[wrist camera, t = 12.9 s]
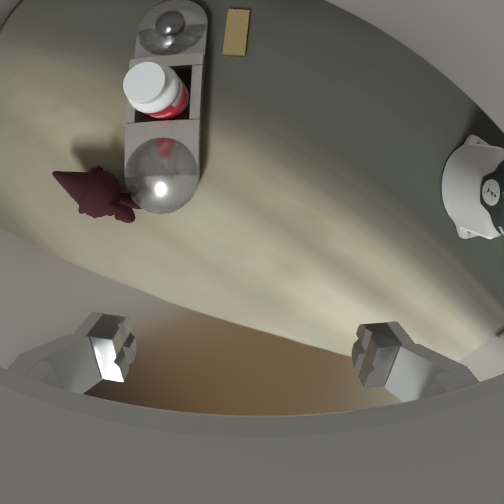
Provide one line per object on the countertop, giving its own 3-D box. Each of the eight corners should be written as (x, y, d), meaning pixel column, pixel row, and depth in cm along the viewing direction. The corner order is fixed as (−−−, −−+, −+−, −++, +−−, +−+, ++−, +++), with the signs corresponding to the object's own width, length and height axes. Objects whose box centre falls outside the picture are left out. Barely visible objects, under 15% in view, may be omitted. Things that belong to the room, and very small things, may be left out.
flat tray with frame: (145, 8, 30) (139, 0, 27) (210, 1, 30) (209, -8, 27) (133, 210, 40) (126, 214, 37) (201, 209, 40) (198, 213, 37)
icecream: (36, 204, 32) (123, 247, 36) (43, 157, 29) (138, 200, 33) (60, 185, 38) (139, 222, 42) (69, 143, 35) (155, 180, 39)
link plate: (228, 12, 32) (228, 8, 30) (249, 13, 32) (249, 10, 31) (223, 57, 34) (222, 54, 33) (244, 58, 34) (244, 55, 33)
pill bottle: (139, 112, 36) (107, 100, 25) (157, 74, 34) (131, 49, 23) (178, 126, 37) (156, 116, 26) (197, 86, 35) (182, 63, 24)
